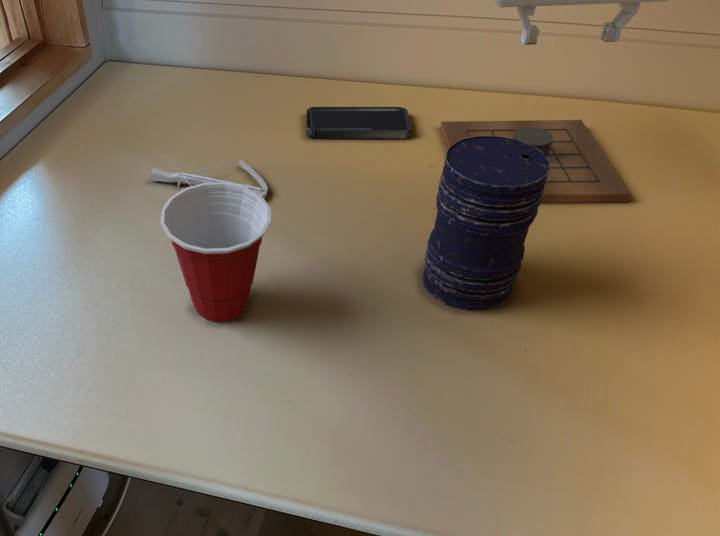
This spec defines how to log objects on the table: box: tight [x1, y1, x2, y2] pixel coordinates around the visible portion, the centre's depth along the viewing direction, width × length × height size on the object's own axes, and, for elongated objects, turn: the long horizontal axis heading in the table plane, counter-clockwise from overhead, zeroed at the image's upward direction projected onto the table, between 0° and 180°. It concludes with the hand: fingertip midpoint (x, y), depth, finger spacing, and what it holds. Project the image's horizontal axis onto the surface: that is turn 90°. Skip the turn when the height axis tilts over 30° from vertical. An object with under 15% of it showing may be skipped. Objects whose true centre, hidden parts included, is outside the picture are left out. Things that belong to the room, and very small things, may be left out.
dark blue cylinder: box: [422, 136, 550, 312], centre depth 73 cm, size 10×10×15 cm
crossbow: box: [149, 159, 269, 201], centre depth 93 cm, size 16×13×2 cm
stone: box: [513, 127, 554, 158], centre depth 95 cm, size 5×5×3 cm
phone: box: [305, 106, 412, 139], centre depth 105 cm, size 8×1×15 cm
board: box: [439, 119, 632, 204], centre depth 96 cm, size 20×20×1 cm
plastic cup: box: [160, 182, 272, 323], centre depth 73 cm, size 11×11×12 cm
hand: (568, 41), depth 85 cm, fingers open, 8 cm apart
